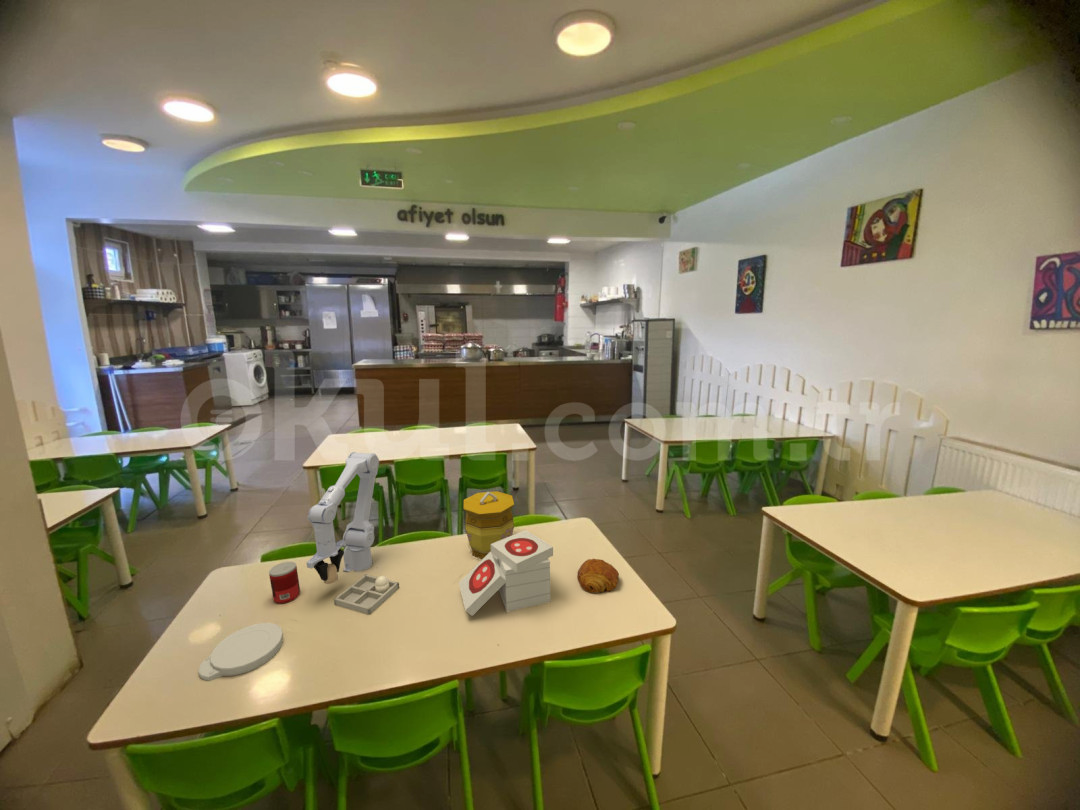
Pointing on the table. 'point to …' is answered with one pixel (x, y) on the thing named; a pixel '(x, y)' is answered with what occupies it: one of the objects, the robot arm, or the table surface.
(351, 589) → the egg carton
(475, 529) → the container
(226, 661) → the lid
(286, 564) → the canned food
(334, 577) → the brown egg
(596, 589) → the croissant
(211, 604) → the table surface
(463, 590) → the stacked pizza boxes
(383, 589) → the cream egg
